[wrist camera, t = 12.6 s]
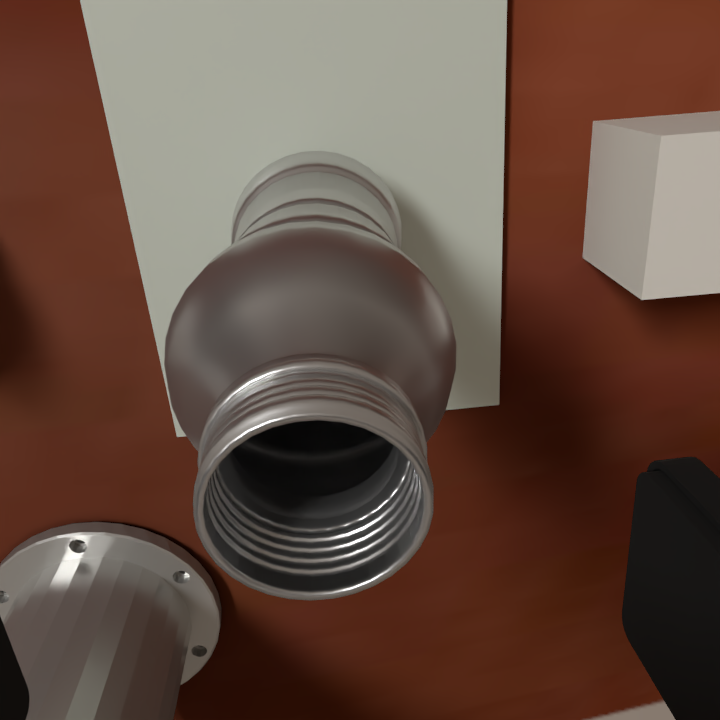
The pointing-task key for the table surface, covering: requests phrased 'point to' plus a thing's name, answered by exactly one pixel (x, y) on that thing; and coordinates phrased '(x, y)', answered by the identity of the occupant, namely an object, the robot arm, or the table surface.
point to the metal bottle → (311, 383)
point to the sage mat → (313, 134)
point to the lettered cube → (656, 204)
